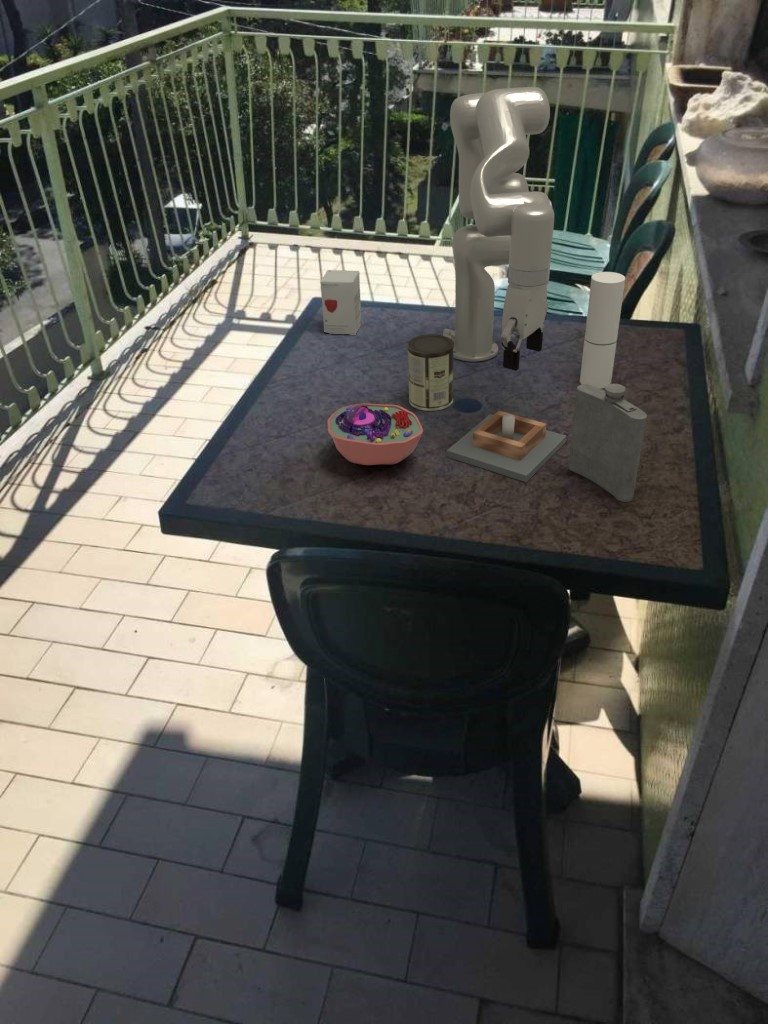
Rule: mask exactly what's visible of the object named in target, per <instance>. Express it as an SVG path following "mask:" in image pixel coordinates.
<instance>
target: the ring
mask: <svg viewBox="0 0 768 1024" xmlns="http://www.w3.org/2000/svg"><path fill="white" fill-rule="evenodd" d="M507 414H510V415H513V416H515V423H514V432H517V433H520V434H523V435H525V436H524V437H523V438H522V439H521V440H520V441H514V440H511V439H508V438H504V437H501V436H497V435H494V434H495V433H497V432H498V431H499V430H500V429H501V428H502V423H503V416H504V415H507ZM492 415H493V416H492V417H491V418H490V419H489V420H487V421H486V422H485V423H484V424H483V425H482V426H480V427H479V428H478V429H477V430H476V431H474V432H473V446H476V447H479V448H482V449H486V450H489V451H492V452H495V453H499V454H502V455H505V456H508V457H512V458H515V459H518V460H522V459H523V458H524V457H525V456H526V455H527V454H528V453H529V452H530V451H531V450H532V449H533V448H534V447H535V446H536V445H537V444H538V443H539V442H540V441H541V440H542V439H544V438H545V437H546V430H547V425H548V424H547V423H545V422H541V421H538V420H535V419H530V418H527V417H523V416H520V415H515V414H512V413H509V412H505V411H501V410H497V412H496V413H494V414H492Z"/></svg>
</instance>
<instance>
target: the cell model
mask: <svg viewBox="0 0 768 1024" xmlns="http://www.w3.org/2000/svg"><path fill="white" fill-rule="evenodd" d="M326 422H327V431H328V434H329V435H330V436H331V438H332V440H333V442H334V445H335V448H336V450H337V451H338V452H339V454H341V455H342V456H343V457H344V458H345V459H346V460H347V461H349V462H350V463H353V464H356V465H357V464H358V465H361V466H374V465H388V466H392V465H396V464H399V463H400V462H402V461H404V460H405V459H406V458H408V457H409V456H410V455H411V454H412V453H413V452H414V451H415V449H417V445H418V444H419V442H420V440H421V437H422V435H423V432H424V430H423V429H424V428H423V426H422V424H421V421H420V420H419V418H418V417H417V415H416V414H415V413H414V412H412V411H410V410H408V409H406V408H405V407H403V406H401V405H396V404H382V403H381V404H379V403H377V404H376V403H354V404H351V405H346V406H343V407H341V408H339V409H337V410H336V411H334V412H333V413H332V414H331V415H330V417H328V419H327V421H326Z"/></svg>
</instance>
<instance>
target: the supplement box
mask: <svg viewBox="0 0 768 1024" xmlns="http://www.w3.org/2000/svg"><path fill="white" fill-rule="evenodd" d="M360 279H361V278H360V271H359V270H344V269H342V270H341V269H340V270H339V269H338V270H337V269H327V270H326V272H325V274H324V275H323V276H322V278H321V279H320V281H319V282H320V293H321V294H320V295H321V296H320V297H321V307H322V320H323V331H324V332H328V333H334V334H350V335H349V336H356V335H357V334H358V332H357V331H359V330H358V329H360V328H361V325H362V323H361V322H362V305H361V303H362V302H361V287H360V285H361V283H360V281H361V280H360ZM324 332H323V333H324ZM356 333H357V334H356Z"/></svg>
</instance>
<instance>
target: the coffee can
mask: <svg viewBox="0 0 768 1024" xmlns="http://www.w3.org/2000/svg"><path fill="white" fill-rule="evenodd" d="M453 348H454V342H453V340H452V339H450V338H448V337H446V336H443V334H421V335H418V336H414V337H412V338H410V339H408V342H407V343H406V349H407V364H408V365H407V366H408V367H407V368H408V396H409V397H408V403H409V405H410V406H411V407H412V408H415V409H417V410H421V411H426V412H427V411H428V412H436V411H441V410H445V409H447V408H449V407H450V406H451V405H452V404H453V403H454V357H453Z"/></svg>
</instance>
